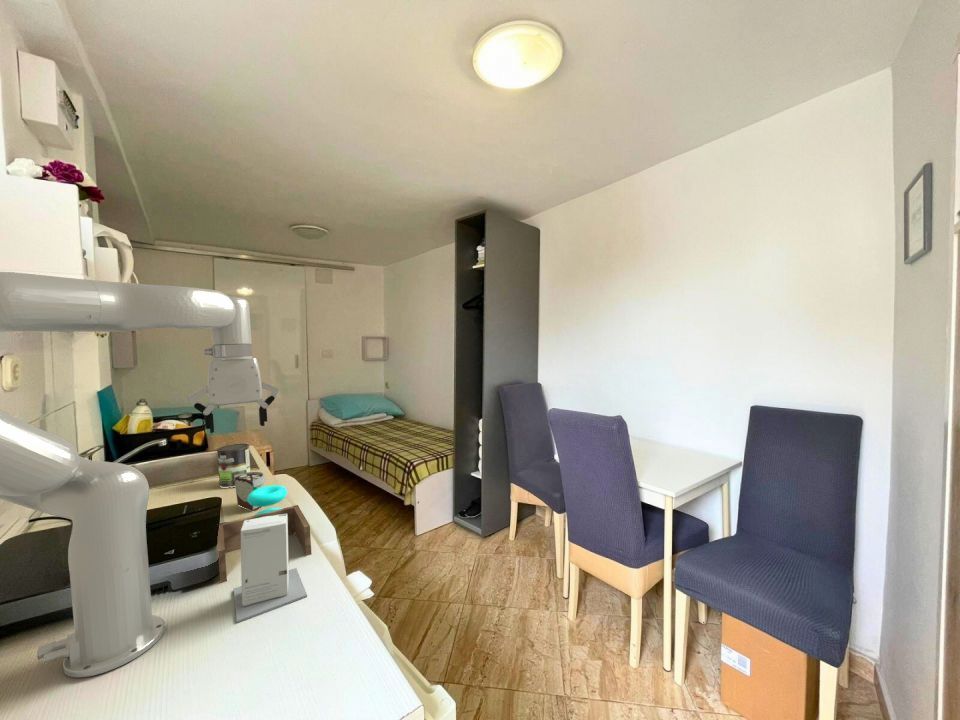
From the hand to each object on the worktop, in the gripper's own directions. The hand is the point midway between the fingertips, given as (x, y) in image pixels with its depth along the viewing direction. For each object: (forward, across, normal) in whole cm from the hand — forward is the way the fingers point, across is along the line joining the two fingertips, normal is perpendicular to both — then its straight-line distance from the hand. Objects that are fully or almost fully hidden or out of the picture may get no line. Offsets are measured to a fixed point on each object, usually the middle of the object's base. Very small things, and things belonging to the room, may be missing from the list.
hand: (237, 428), depth 88 cm
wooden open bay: (+32, +4, +4) cm, 33 cm away
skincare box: (+32, +3, -14) cm, 35 cm away
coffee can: (+33, +1, +70) cm, 77 cm away
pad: (+32, +3, -14) cm, 35 cm away
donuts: (+33, +7, +22) cm, 40 cm away
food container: (+32, +5, +41) cm, 53 cm away
